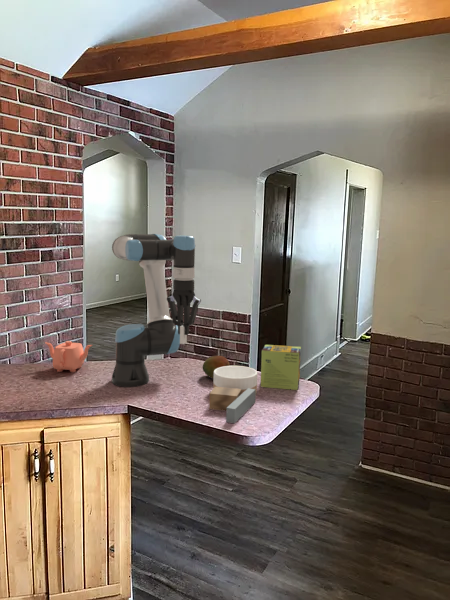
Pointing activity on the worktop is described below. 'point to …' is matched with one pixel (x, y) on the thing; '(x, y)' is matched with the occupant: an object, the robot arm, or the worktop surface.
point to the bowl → (235, 377)
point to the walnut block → (223, 397)
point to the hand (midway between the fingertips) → (183, 343)
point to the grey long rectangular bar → (240, 405)
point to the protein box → (280, 367)
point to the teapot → (68, 355)
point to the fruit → (214, 364)
